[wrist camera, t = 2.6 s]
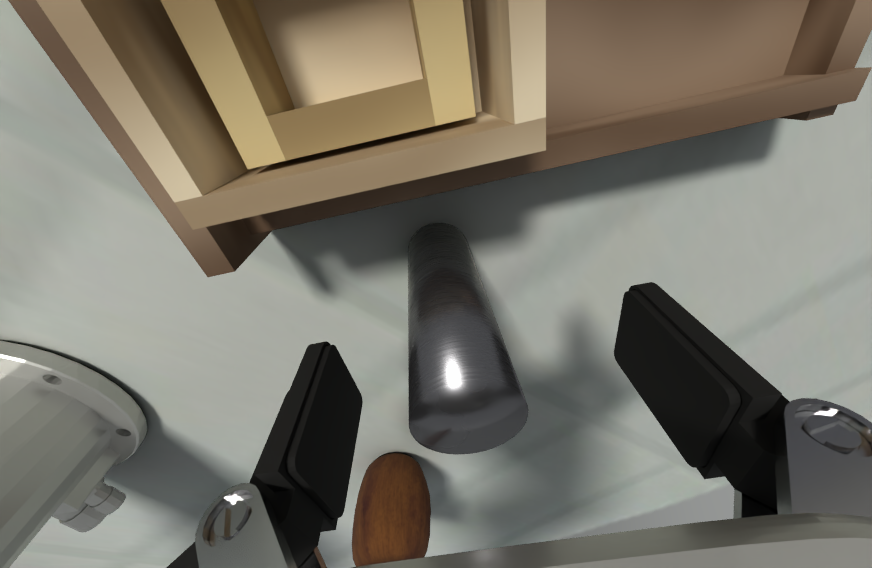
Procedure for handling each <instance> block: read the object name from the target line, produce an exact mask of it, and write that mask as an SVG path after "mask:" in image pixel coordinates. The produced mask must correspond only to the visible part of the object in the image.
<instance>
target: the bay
mask: <svg viewBox="0 0 872 568" xmlns="http://www.w3.org/2000/svg"><path fill="white" fill-rule="evenodd" d="M8 1H9V2H10V3H11V5H12V6H13V8H14V9H15V10H16V12H17V13H18V15H19V16H20V17H21V19H22V20H23V22H24V23H25V24H26V26H27V27H28V28H29V30H30V31H31V33H32V34H33V35H34V37H35V38H36V40H37V41H38V42H39V44H40V45H41V46H42V48H43V49H44V51H45V52H46V53H47V55H48V56H49V58H50V59H51V60H52V62H53V63H54V65H55V66H56V67H57V69H58V70H59V71H60V73H61V74H62V76H63V77H64V78H65V80H66V81H67V83H68V84H69V85H70V87H71V88H72V89H73V91H74V92H75V94H76V95H77V96H78V98H79V99H80V101H81V102H82V103H83V105H84V106H85V108H86V109H87V110H88V112H89V113H90V114H91V116H92V117H93V119H94V120H95V121H96V123H97V124H98V126H99V127H100V128H101V130H102V131H103V132H104V134H105V135H106V137H107V138H108V139H109V141H110V142H111V144H112V145H113V146H114V148H115V149H116V151H117V152H118V153H119V155H120V156H121V157H122V159H123V160H124V162H125V163H126V164H127V166H128V167H129V169H130V170H131V171H132V173H133V174H134V175H135V177H136V178H137V180H138V181H139V182H140V184H141V185H142V187H143V188H144V189H145V191H146V192H147V194H148V195H149V196H150V198H151V199H152V200H153V202H154V203H155V205H156V206H157V207H158V209H159V210H160V212H161V213H162V214H163V216H164V217H165V218H166V220H167V221H168V223H169V224H170V225H171V227H172V228H173V230H174V231H175V232H176V234H177V235H178V237H179V238H180V239H181V241H182V242H183V243H184V245H185V246H186V248H187V249H188V250H189V252H190V253H191V255H192V256H193V257H194V259H195V260H196V262H197V263H198V264H199V266H200V267H201V268H202V270H203V271H204V273H205V274H206V275H207V277H211V276H215V275H220V274H225V273H229V272H234V271H236V269H237V268H238V267H239V266H240V265H241V264H242V263H243V262H244V261H245V260H246V259H247V257H248V256H249V255H250V254H251V253H252V252H253V251H254V250H255V249H256V248H257V246H258V245H259V244H260V243H261V242H262V241H263V240H264V239H265V238H266V237H267V236H268V234H269V233H270V232H271V231H272V230H276V229H280V228H285V227H289V226H294V225H298V224H303V223H307V222H312V221H316V220H321V219H325V218H330V217H334V216H339V215H343V214H348V213H352V212H357V211H361V210H366V209H370V208H375V207H379V206H384V205H388V204H393V203H397V202H402V201H406V200H411V199H415V198H420V197H424V196H429V195H433V194H437V193H442V192H446V191H451V190H455V189H460V188H464V187H469V186H473V185H478V184H482V183H487V182H491V181H496V180H500V179H505V178H509V177H514V176H518V175H523V174H527V173H532V172H536V171H541V170H545V169H550V168H554V167H559V166H563V165H568V164H572V163H577V162H581V161H586V160H590V159H595V158H599V157H604V156H608V155H613V154H617V153H622V152H626V151H631V150H635V149H640V148H644V147H649V146H653V145H658V144H662V143H667V142H671V141H676V140H680V139H685V138H689V137H694V136H698V135H703V134H707V133H712V132H716V131H721V130H725V129H730V128H734V127H739V126H743V125H748V124H752V123H757V122H761V121H766V120H770V119H775V118H786V119H796V120H811V119H815V118H820V117H824V116H829V115H833V114H834V112H835V109H836V107H837V105H838V104H842V103H847V102H851V101H856V99H857V97H858V95H859V93H860V91H861V89H862V87H863V85H864V82H865V80H866V78H867V76H868V74H869V72H870V70H871V68H872V67H870V68H854V67H855V65H856V63H857V61H858V59H859V56H860V54H861V52H862V50H863V48H864V45H865V43H866V41H867V39H868V36H869V34H870V32H871V30H872V0H546V150H545V151H541V152H536V153H532V154H527V155H523V156H519V157H514V158H510V159H505V160H501V161H496V162H492V163H487V164H483V165H479V166H474V167H470V168H465V169H461V170H456V171H452V172H448V173H443V174H439V175H434V176H430V177H425V178H421V179H416V180H412V181H408V182H403V183H399V184H394V185H390V186H385V187H381V188H376V189H372V190H368V191H363V192H359V193H354V194H350V195H345V196H341V197H336V198H332V199H328V200H323V201H319V202H314V203H310V204H305V205H301V206H296V207H292V208H288V209H283V210H279V211H274V212H270V213H265V214H261V215H257V216H252V217H248V218H243V219H239V220H234V221H230V222H225V223H221V224H217V225H212V226H208V227H203V228H199V229H194V230H193V229H192V228H191V226H190V225H189V223H188V222H187V220H186V219H185V217H184V216H183V214H182V213H181V212H180V210H179V209H178V207H177V206H176V204H175V203H174V201H173V200H172V198H171V197H170V195H169V194H168V193H167V191H166V190H165V188H164V187H163V185H162V184H161V182H160V181H159V179H158V178H157V176H156V175H155V174H154V172H153V171H152V169H151V168H150V166H149V165H148V163H147V162H146V160H145V159H144V157H143V156H142V155H141V153H140V152H139V150H138V149H137V147H136V146H135V144H134V143H133V141H132V140H131V138H130V137H129V135H128V134H127V133H126V131H125V130H124V128H123V127H122V125H121V124H120V122H119V121H118V119H117V118H116V116H115V115H114V114H113V112H112V111H111V109H110V108H109V106H108V105H107V103H106V102H105V100H104V99H103V97H102V96H101V95H100V93H99V92H98V90H97V89H96V87H95V86H94V84H93V83H92V81H91V80H90V78H89V77H88V76H87V74H86V73H85V71H84V70H83V68H82V67H81V65H80V64H79V62H78V61H77V59H76V58H75V56H74V55H73V54H72V52H71V51H70V49H69V48H68V46H67V45H66V43H65V42H64V40H63V39H62V37H61V36H60V35H59V33H58V32H57V30H56V29H55V27H54V26H53V24H52V23H51V21H50V20H49V18H48V17H47V16H46V14H45V13H44V11H43V10H42V8H41V7H40V5H39V4H38V2H37V1H36V0H8Z"/></svg>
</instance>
